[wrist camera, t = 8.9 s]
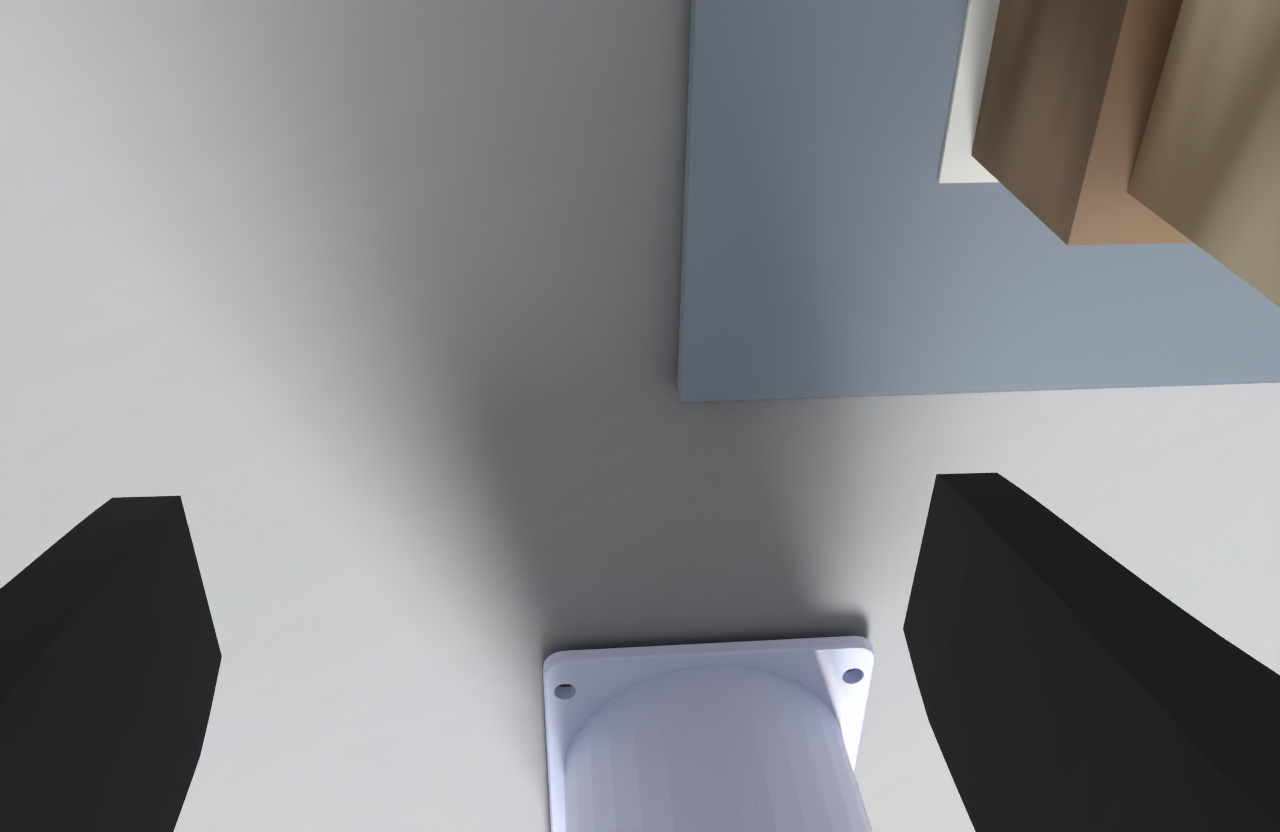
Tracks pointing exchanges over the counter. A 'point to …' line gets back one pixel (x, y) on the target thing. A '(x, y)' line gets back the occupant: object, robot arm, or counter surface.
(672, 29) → the counter surface
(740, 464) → the counter surface
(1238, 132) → the oak block
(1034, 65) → the walnut block
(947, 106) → the board
